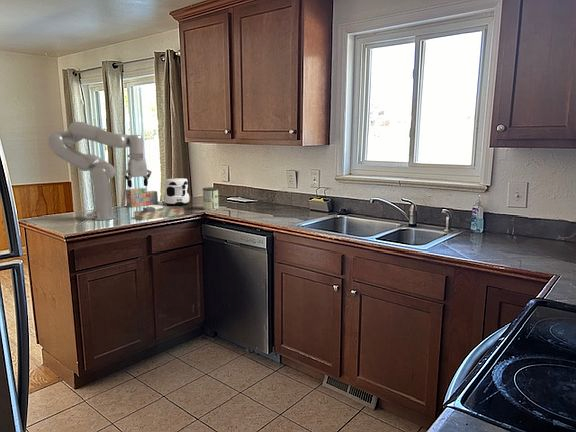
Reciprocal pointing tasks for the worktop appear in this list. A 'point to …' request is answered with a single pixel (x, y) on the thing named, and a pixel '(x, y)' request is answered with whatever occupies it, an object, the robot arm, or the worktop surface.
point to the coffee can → (210, 198)
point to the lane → (159, 213)
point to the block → (148, 209)
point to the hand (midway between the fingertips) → (137, 186)
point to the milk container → (176, 191)
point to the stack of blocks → (140, 197)
